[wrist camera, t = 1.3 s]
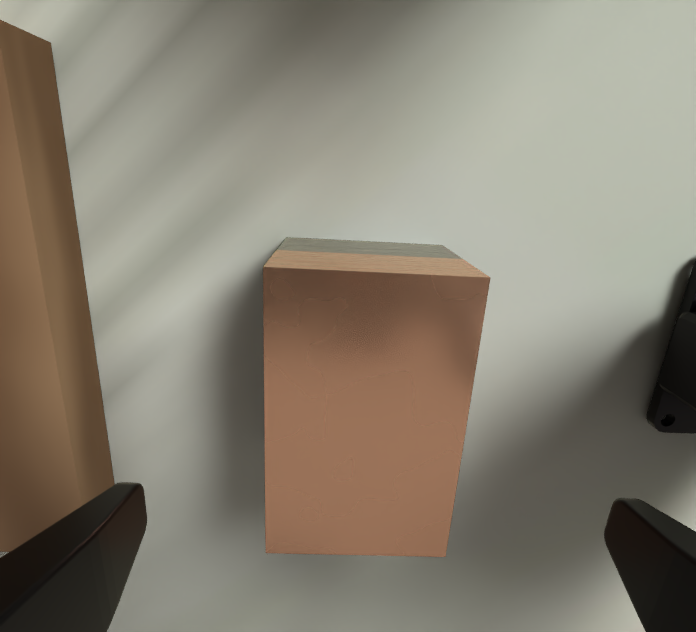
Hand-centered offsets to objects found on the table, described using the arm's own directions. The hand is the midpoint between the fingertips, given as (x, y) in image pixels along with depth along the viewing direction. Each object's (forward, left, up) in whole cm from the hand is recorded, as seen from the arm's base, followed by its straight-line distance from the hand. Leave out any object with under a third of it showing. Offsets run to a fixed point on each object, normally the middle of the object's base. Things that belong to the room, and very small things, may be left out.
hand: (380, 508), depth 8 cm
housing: (0, +1, -7) cm, 7 cm away
